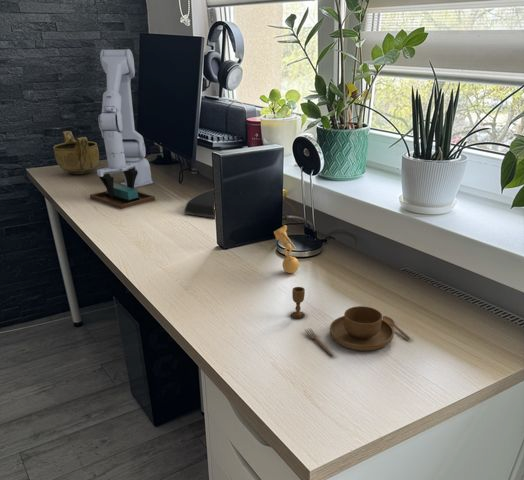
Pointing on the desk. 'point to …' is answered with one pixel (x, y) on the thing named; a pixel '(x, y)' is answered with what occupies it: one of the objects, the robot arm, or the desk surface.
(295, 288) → the place setting
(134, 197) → the teal long block
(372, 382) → the desk surface
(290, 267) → the figurine
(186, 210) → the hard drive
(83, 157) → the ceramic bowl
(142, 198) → the tray
